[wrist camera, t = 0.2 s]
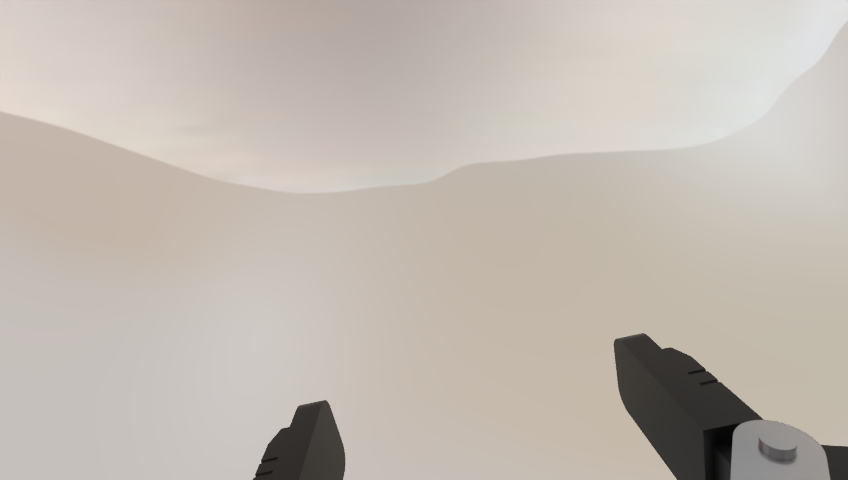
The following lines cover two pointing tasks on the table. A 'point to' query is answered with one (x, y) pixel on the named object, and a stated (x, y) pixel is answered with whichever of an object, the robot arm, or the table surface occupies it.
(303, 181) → the table surface
